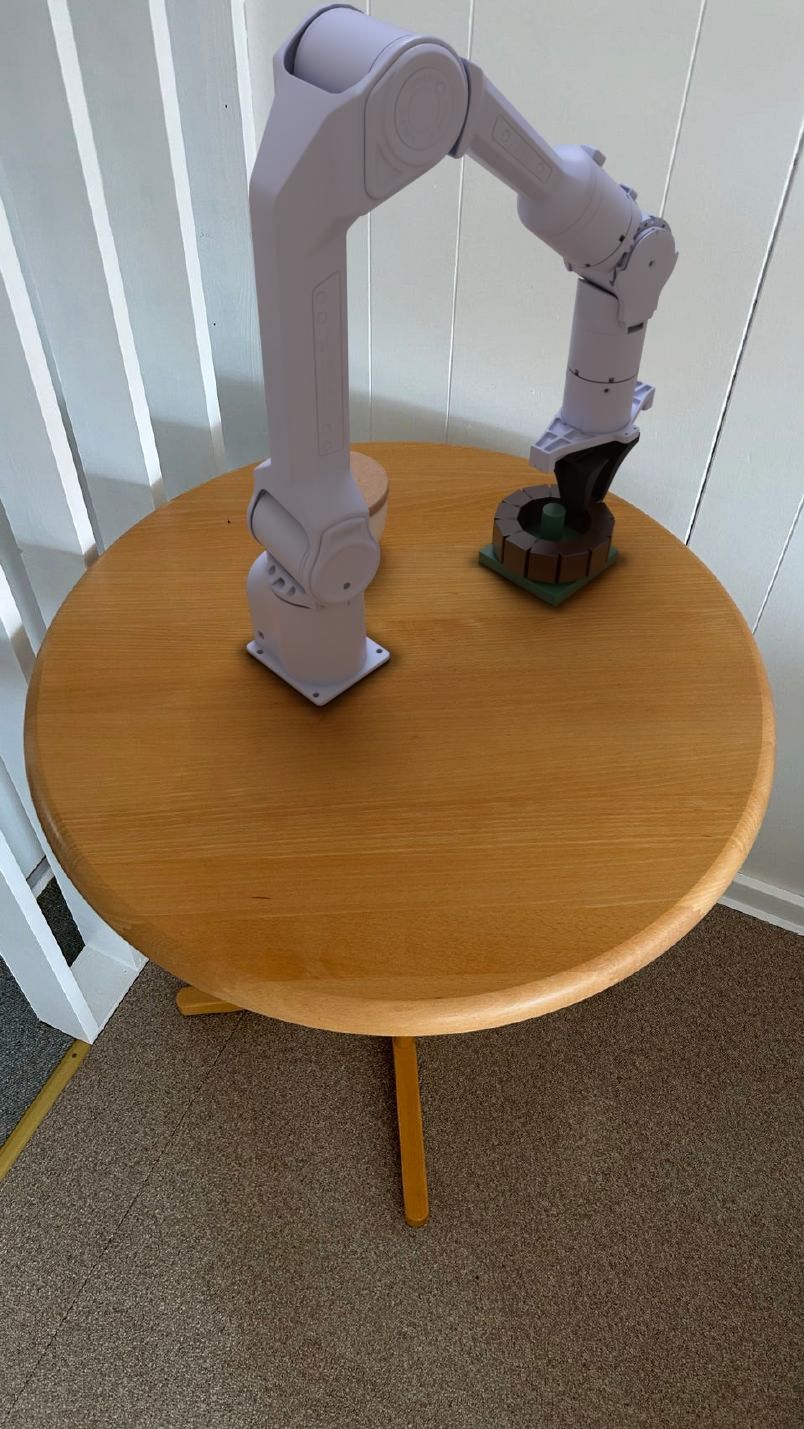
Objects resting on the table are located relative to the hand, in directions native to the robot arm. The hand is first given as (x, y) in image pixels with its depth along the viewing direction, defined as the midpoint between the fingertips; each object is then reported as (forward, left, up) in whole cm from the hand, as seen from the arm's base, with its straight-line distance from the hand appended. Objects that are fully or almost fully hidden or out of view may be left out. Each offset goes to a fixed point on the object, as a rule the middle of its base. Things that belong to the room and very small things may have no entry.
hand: (581, 506), depth 88 cm
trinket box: (-15, -17, -4) cm, 23 cm away
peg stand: (0, -4, -4) cm, 6 cm away
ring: (0, -4, -2) cm, 5 cm away
